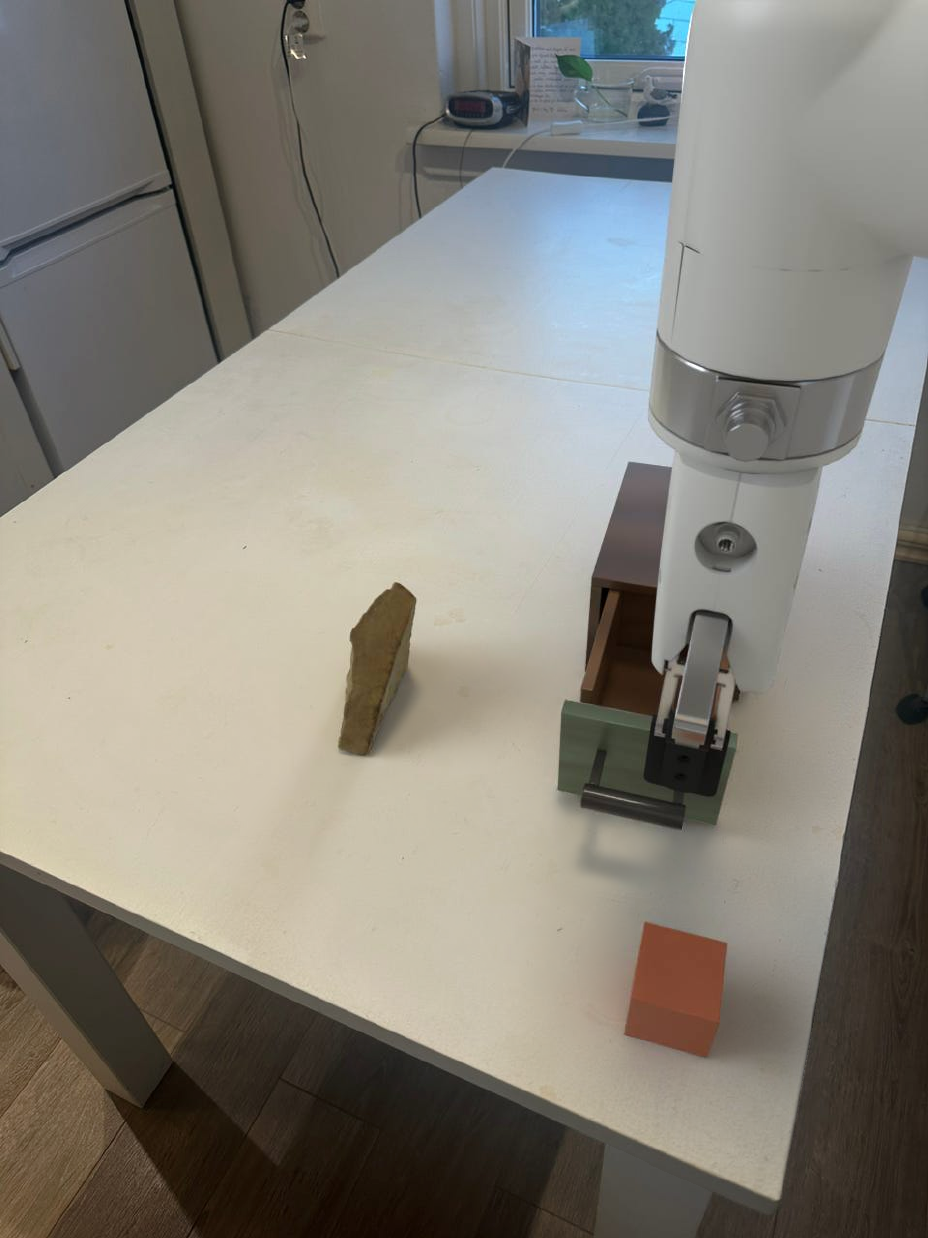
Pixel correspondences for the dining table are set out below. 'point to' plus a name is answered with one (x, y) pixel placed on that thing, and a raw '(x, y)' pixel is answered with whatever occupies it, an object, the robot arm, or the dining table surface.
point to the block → (677, 989)
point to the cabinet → (632, 542)
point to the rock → (376, 665)
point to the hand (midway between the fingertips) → (695, 707)
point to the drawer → (627, 724)
